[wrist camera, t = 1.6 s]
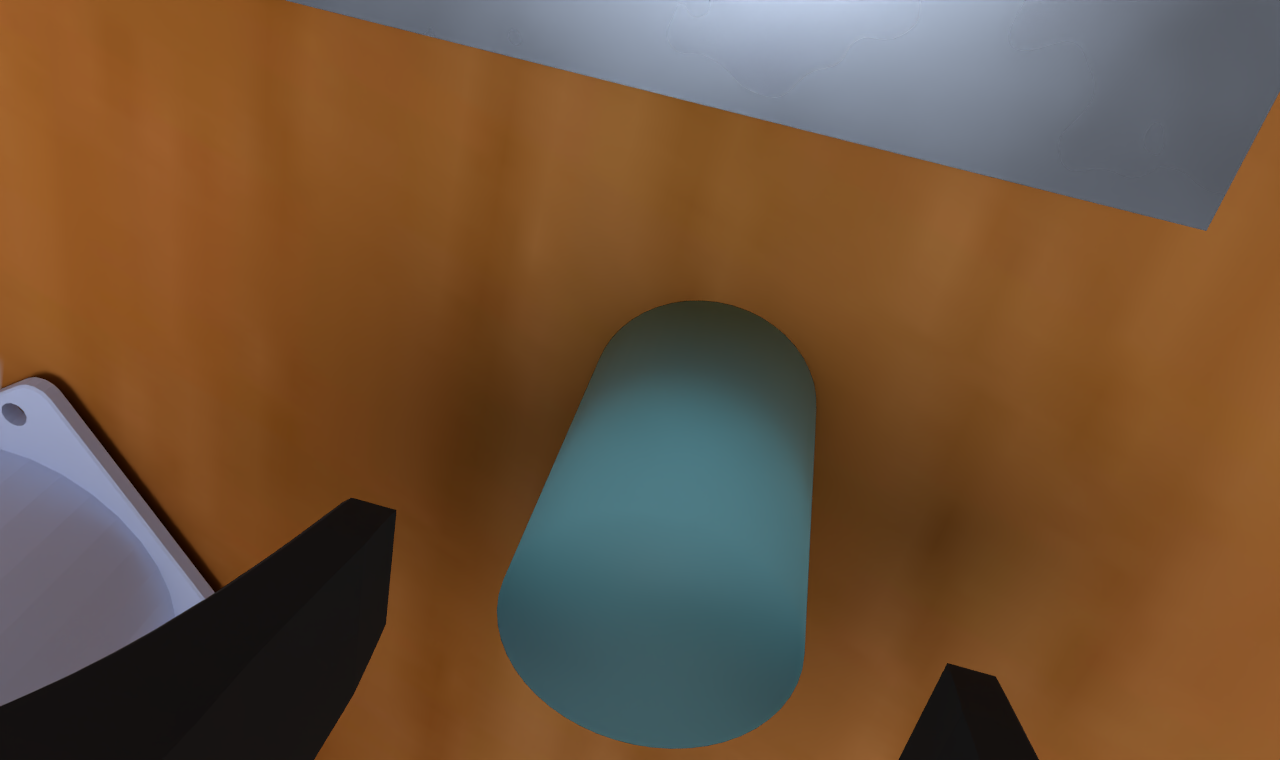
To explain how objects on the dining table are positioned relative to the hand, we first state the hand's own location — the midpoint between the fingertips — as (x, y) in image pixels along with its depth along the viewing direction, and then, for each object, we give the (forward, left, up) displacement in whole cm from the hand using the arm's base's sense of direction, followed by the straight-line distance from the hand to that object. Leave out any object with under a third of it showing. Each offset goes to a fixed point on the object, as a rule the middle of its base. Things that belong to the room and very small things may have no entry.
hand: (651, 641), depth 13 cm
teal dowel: (0, 0, -6) cm, 6 cm away
